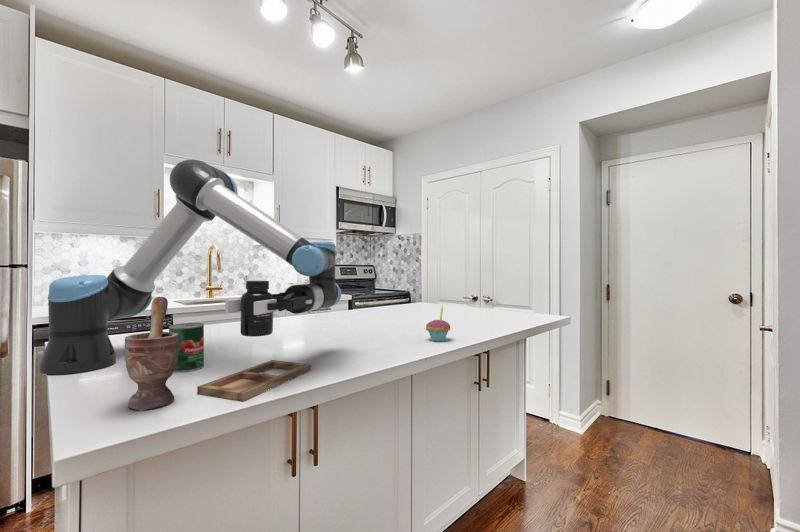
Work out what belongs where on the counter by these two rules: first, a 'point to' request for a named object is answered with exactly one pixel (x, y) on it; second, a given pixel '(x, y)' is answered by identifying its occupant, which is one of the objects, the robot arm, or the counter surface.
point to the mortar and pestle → (152, 360)
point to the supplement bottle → (249, 321)
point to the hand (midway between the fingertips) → (240, 307)
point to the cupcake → (438, 329)
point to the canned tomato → (189, 346)
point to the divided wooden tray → (252, 380)
